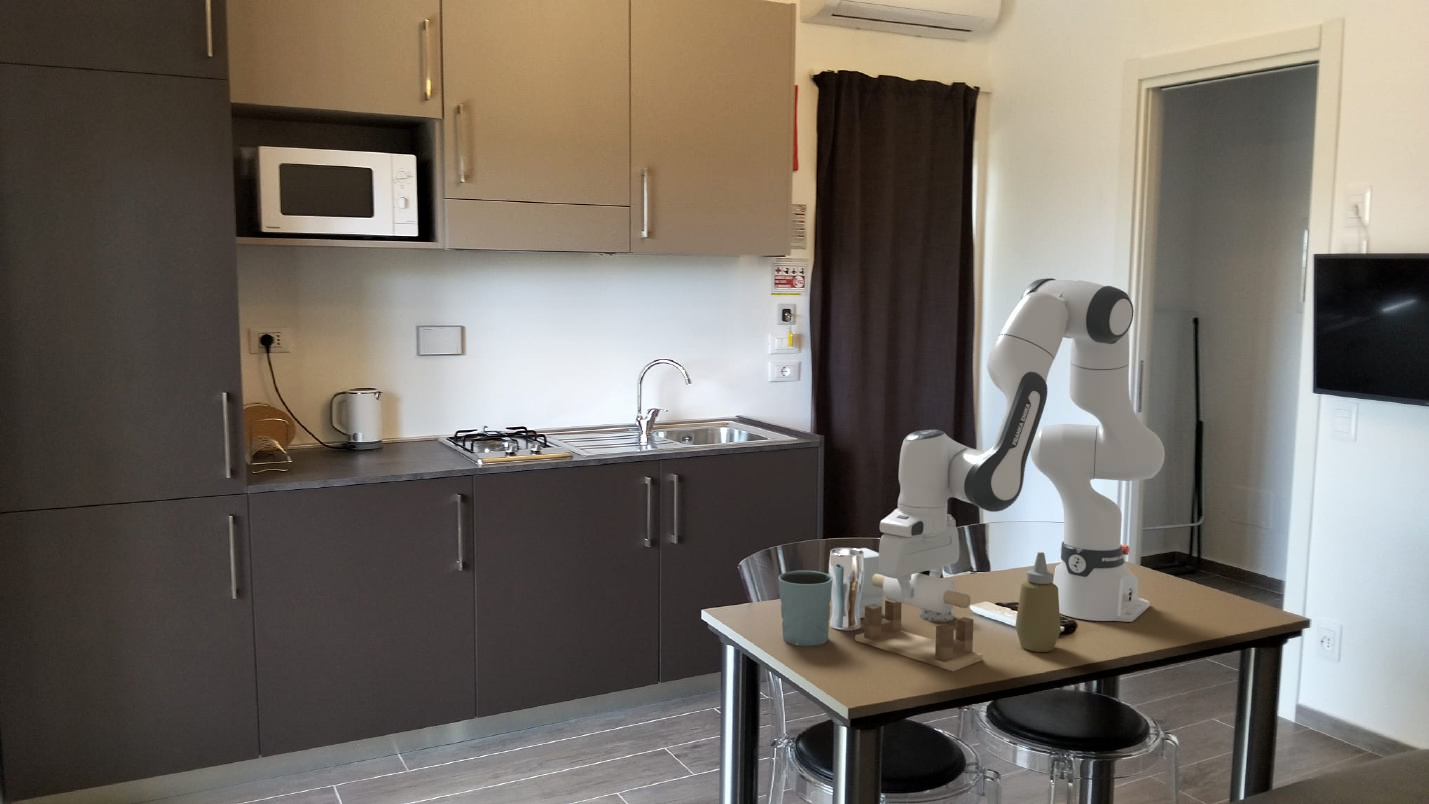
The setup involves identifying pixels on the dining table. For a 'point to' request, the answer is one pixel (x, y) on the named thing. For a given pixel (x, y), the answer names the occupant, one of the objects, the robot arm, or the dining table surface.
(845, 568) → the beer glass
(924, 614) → the mug
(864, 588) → the supplement box
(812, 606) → the embossed teal cup
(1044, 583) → the squeeze bottle
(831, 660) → the dining table surface
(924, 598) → the paper roll
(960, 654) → the roll holder
